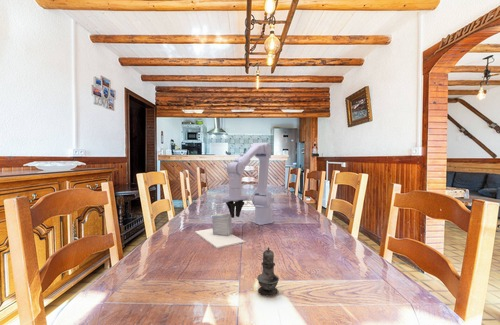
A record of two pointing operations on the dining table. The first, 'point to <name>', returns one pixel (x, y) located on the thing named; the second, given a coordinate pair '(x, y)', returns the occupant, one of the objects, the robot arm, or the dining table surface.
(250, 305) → the dining table surface
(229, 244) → the mat
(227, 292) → the dining table surface
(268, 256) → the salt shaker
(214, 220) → the medicine box
